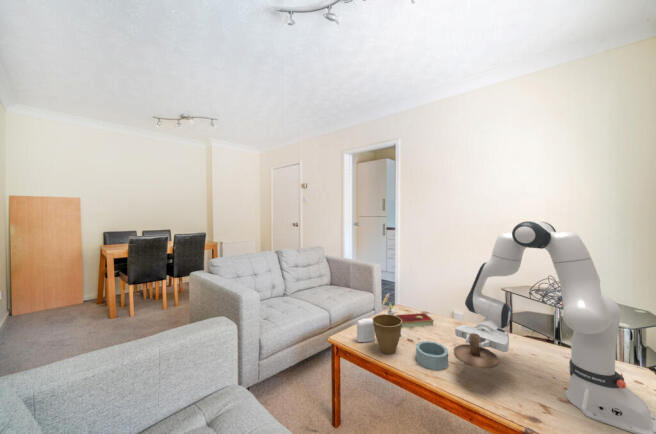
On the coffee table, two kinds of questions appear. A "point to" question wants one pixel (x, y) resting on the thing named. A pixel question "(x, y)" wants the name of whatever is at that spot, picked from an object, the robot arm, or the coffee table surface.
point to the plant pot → (387, 332)
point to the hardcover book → (415, 320)
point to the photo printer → (365, 330)
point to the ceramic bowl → (432, 355)
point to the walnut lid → (475, 354)
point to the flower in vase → (390, 311)
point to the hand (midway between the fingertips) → (474, 343)
